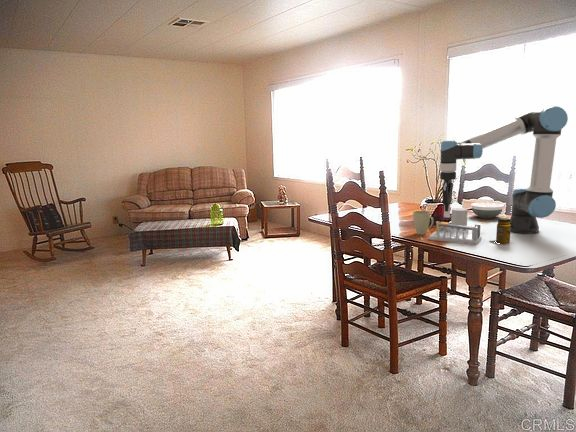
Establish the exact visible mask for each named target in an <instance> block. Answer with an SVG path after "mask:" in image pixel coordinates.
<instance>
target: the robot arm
mask: <svg viewBox="0 0 576 432" xmlns="http://www.w3.org/2000/svg"><path fill="white" fill-rule="evenodd" d="M568 119H569V117H568V113H567V111H566V110H565V109H564V108H563V107H560V106H558V105H557V106H556V105H550V106H543V107H542V106H541V107H536V108H534V109H531V110H529V111H527V112H525V113H523V114H520V115H519V116H516V117H515V118H514V120H512V121H509V122H507V123H505V124H502V125H499V126H497V127H495V128H493V129H489V130H488V131H485V132H482V133H480V134H478V135H476V136H474V137H471V138H469V139H467V140H464V141H462V142H457V140H443V141H441V144H440V165H439V167H440V173H439V179H440V180H443V183H442V186H441V191H442V206H443V218H451V205H453V202H452V201H453V188H454V183H453V180H457V172H456V171H457V160H475V159H480V158H481V157H482V156H483V151H484V150H483V149H486V148H489V147H491V146H493V145H496V144H498V143H500V142H503V141H506V140H509V139H510V138H513V137H516V136H518V135H525V134H528V133H532V132H533V133H532V136H533V137H535V142H534V143H535V144H534V150H533V151H534V152H533V159H532V169H531V174H530V175H531V177H530V183H529V186H528V187H527V188H514V189H513V191H512V194H511V195H512V196H511V212H510V213H511V215H510V217H509V219H510V225H511V230H510V233H511V232H512V233H518V234H536V233H539V231H540V227H539V223H538V218H539V219H544V218H546V217H549V216H550V215H552V214H553V213H554V212H555V210H556V207H557V204H556V200H555V199H554V198H553V196H554V195H553V194H554V191H553V189H552V187H551V181H552V175H553V173H552V172H553V166H554V160H555V153H556V145H557V139H558V138H559V137H560V136H561V134H562V129H564V128H565V127H566V125H567V123H568Z"/></svg>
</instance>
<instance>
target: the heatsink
mask: <svg viewBox="0 0 576 432" xmlns="http://www.w3.org/2000/svg"><path fill="white" fill-rule="evenodd" d="M440 223H441V221H435V225H436V228H435V229H436V230H435V231H433V233H431V234H429V235H428V240H431V241H437V242H438V241H439V242H447V243H458V244H468V245H478V244H479V243H480V241H481V240H482V238H483V236H482V234H481V224H476V223H475V224H474V226H473V227H472V230H471V232H472V233H469V231H470V230H467V229H465V230H464V231H463V232H462V229H458V230H457V231H456V228H452V229H451V228H449V227H441V226H439V224H440ZM475 226H479V227H480V229H479V230H478V227H475Z"/></svg>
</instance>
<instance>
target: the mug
mask: <svg viewBox="0 0 576 432" xmlns="http://www.w3.org/2000/svg"><path fill="white" fill-rule="evenodd" d="M412 215H413V225H414V229H415V233H416V234H417V235H426V234H427V232H428V230H429V229H430V228H432V227H433V225H434V223H435V221H434V220H435V219H434V217H432V216H431V211H429V210H428V211H427V210H414V211H413V212H412ZM430 220H431V221H430ZM430 223H431V224H430ZM429 225H430V226H429Z"/></svg>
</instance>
